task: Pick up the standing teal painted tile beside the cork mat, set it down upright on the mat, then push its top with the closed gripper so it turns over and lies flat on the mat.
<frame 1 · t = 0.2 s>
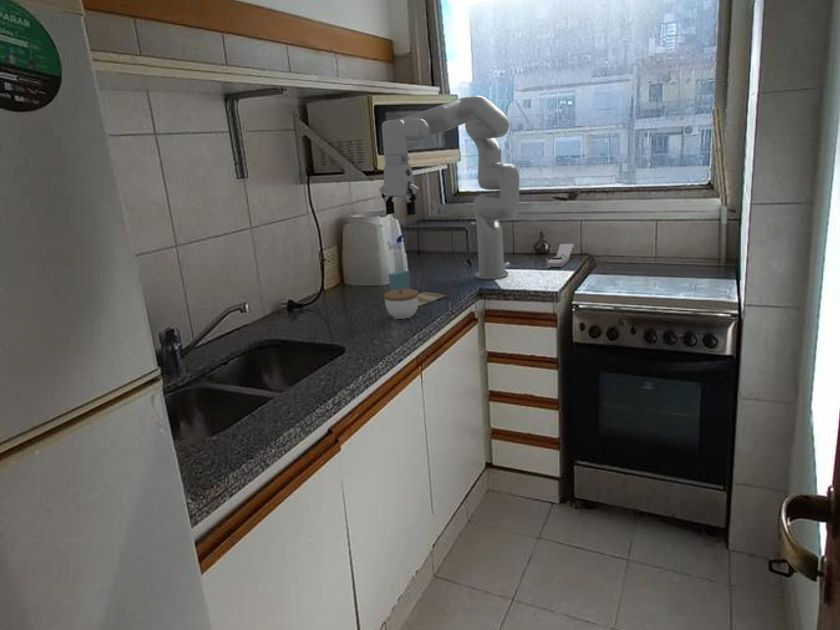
hand: (400, 214, 199), 30 cm above the worktop, tool pointing down, fingers open, 9 cm apart
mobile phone: (560, 263, 251), on the worktop
mat: (420, 300, 210), on the worktop
tile: (401, 297, 217), on the worktop
lidded jar: (403, 317, 193), on the worktop
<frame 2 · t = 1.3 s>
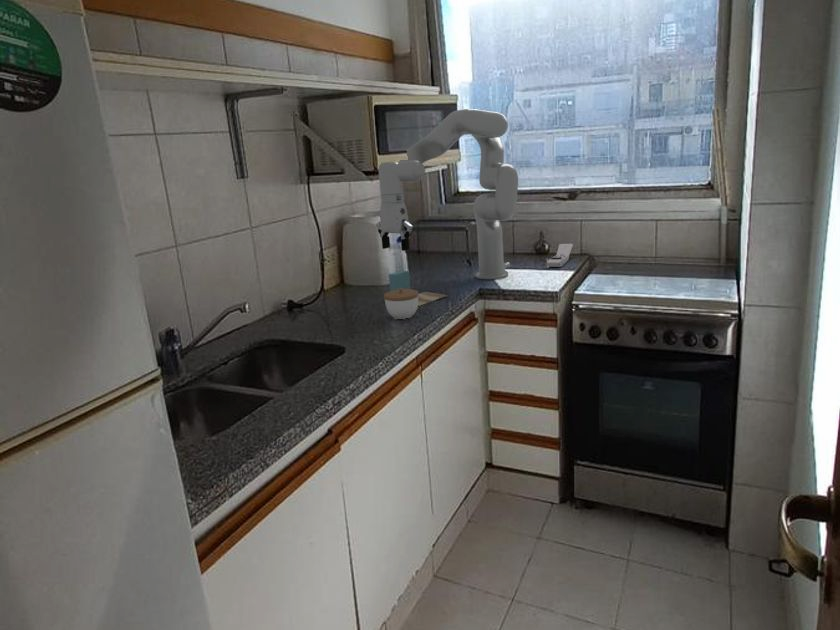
hand: (395, 249, 212), 17 cm above the worktop, tool pointing down, fingers open, 9 cm apart
nothing on the worktop moved.
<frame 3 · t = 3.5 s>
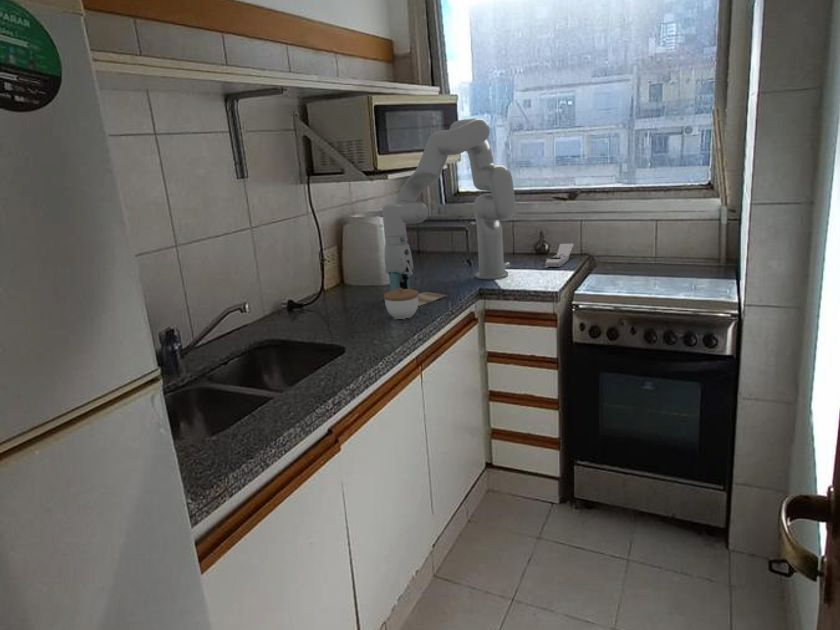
hand: (400, 291, 216), 2 cm above the worktop, tool pointing down, fingers closed on tile, 2 cm apart
tile: (401, 297, 217), on the worktop, touching gripper
everything else where it was.
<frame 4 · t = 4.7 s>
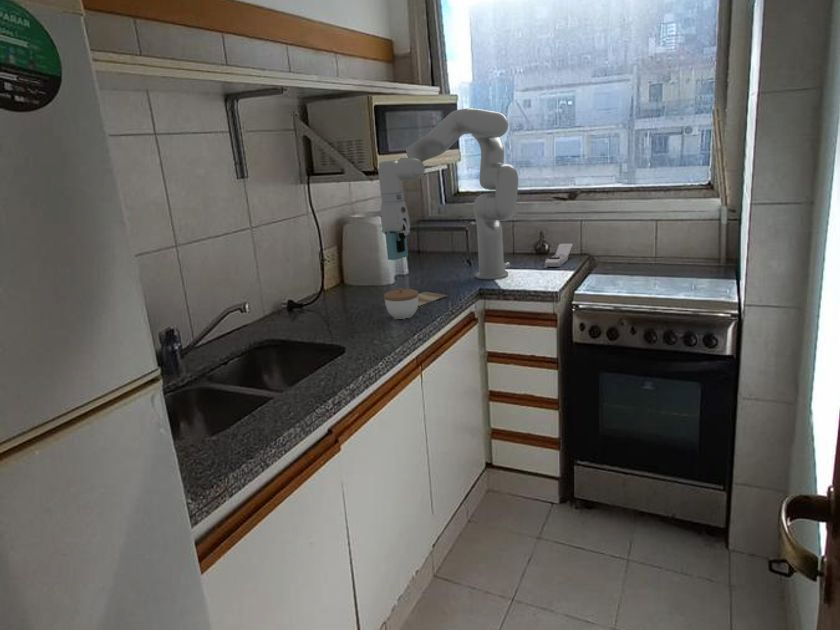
hand: (397, 250, 212), 17 cm above the worktop, tool pointing down, fingers closed on tile, 3 cm apart
tile: (398, 257, 213), point 14 cm above the worktop, touching gripper
everything else where it was.
when the fingers open (4 cm above the worktop, at t = 8.3 s): tile stays where it is, resting on mat.
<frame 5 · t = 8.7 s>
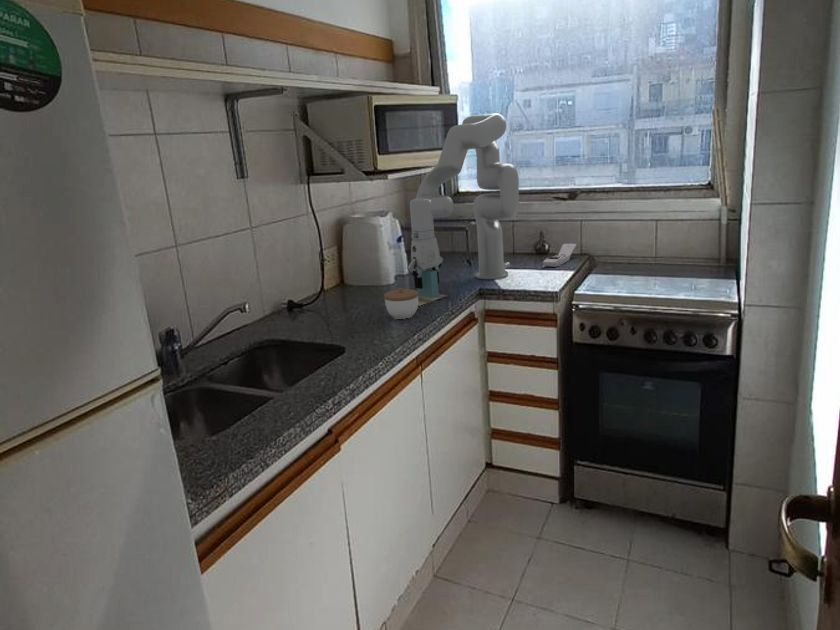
hand: (427, 285, 212), 5 cm above the worktop, tool pointing down, fingers open, 7 cm apart
tile: (428, 296, 213), point 1 cm above the worktop, touching mat
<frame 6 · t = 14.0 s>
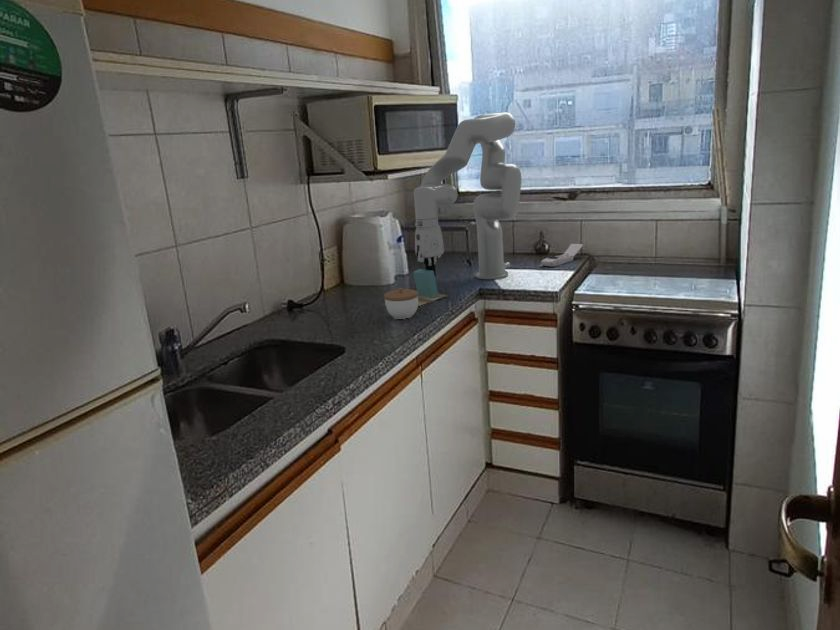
hand: (430, 276, 212), 7 cm above the worktop, tool pointing down, fingers closed
tile: (428, 295, 213), point 1 cm above the worktop, tilted 10°, touching mat
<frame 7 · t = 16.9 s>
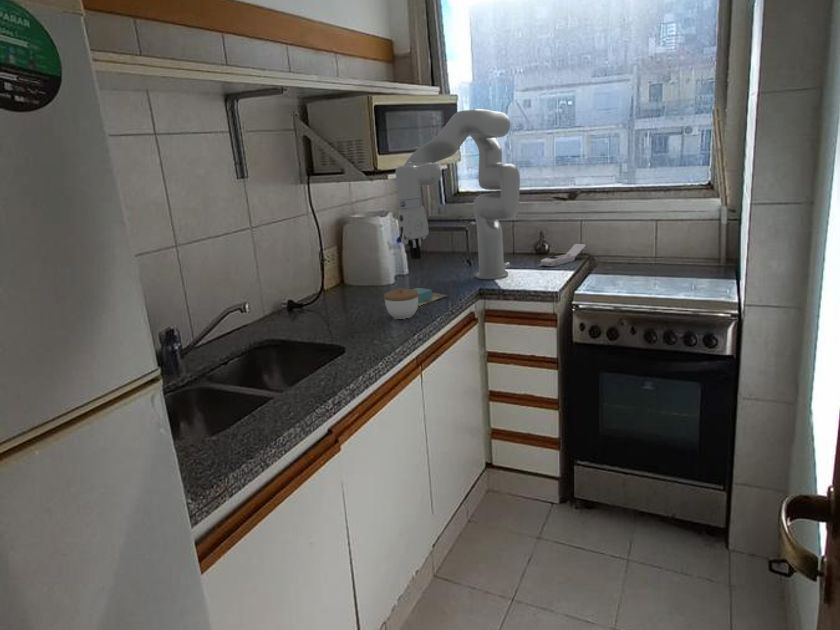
hand: (416, 258, 206), 15 cm above the worktop, tool pointing down, fingers closed
tile: (425, 292, 211), point 2 cm above the worktop, tilted 90°, touching mat
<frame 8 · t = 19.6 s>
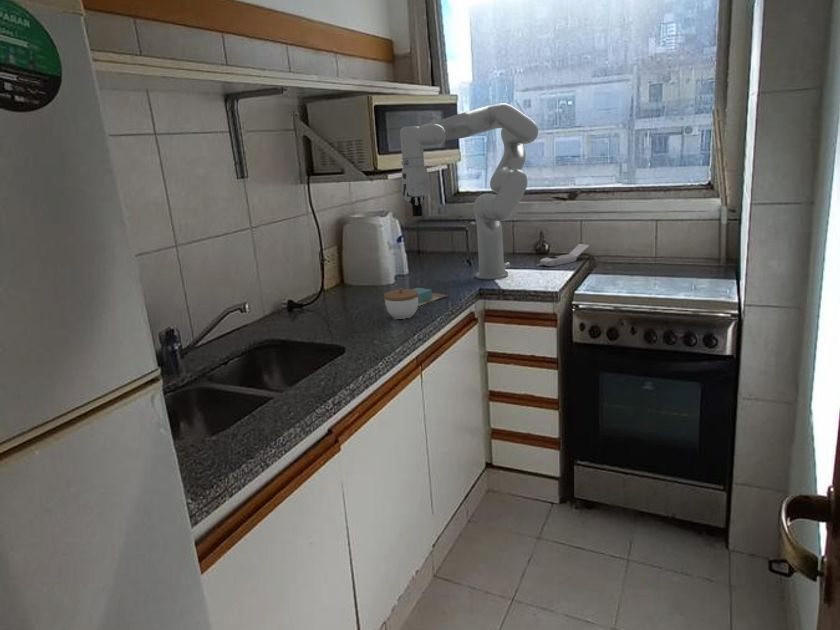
hand: (417, 215, 218), 27 cm above the worktop, tool pointing down, fingers closed
at the end: tile tilted 90°; tile inside the target area on the mat (2.7 cm from its centre), point 2.1 cm above the mat's base; tile touching mat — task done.
